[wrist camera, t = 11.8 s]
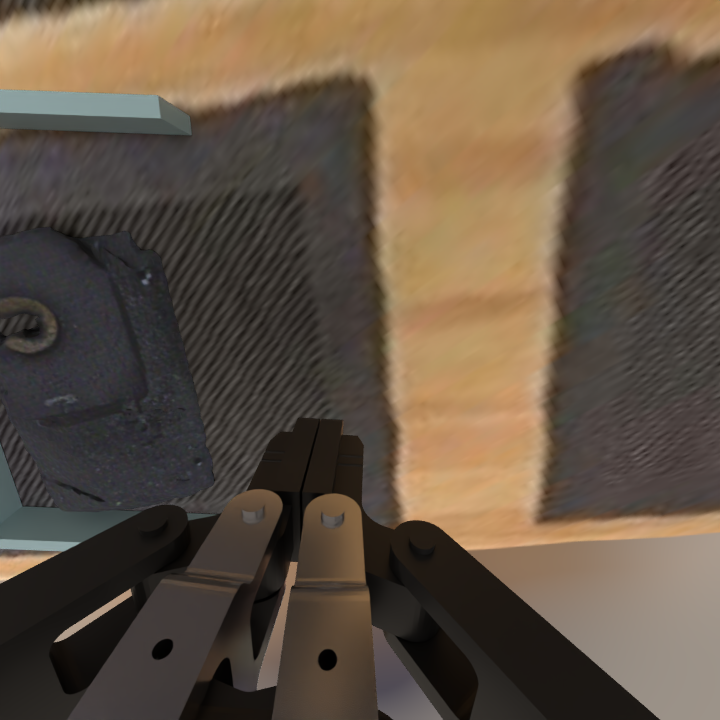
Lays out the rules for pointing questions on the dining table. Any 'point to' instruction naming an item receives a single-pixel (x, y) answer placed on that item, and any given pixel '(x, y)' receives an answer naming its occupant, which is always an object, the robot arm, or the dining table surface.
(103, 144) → the dining table surface
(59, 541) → the box
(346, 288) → the dining table surface
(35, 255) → the black pouch
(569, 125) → the dining table surface
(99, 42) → the dining table surface
